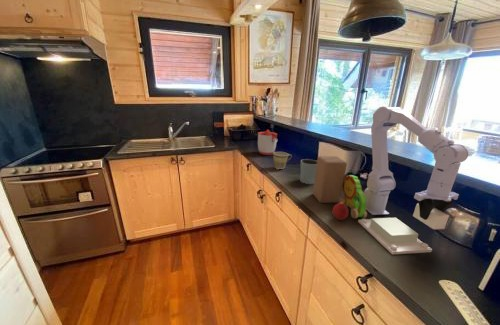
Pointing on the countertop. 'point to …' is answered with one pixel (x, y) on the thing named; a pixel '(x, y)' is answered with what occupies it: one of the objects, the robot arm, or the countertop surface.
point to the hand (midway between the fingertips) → (428, 217)
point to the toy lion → (354, 196)
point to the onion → (340, 211)
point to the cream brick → (433, 218)
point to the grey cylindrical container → (308, 171)
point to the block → (329, 179)
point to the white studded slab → (395, 235)
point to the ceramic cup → (280, 159)
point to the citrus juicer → (267, 142)
